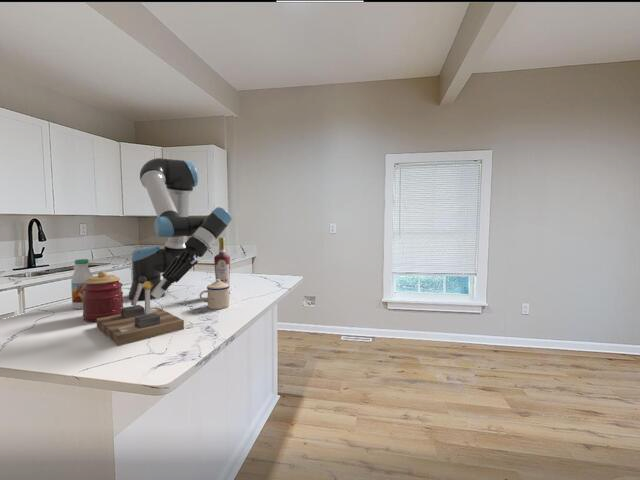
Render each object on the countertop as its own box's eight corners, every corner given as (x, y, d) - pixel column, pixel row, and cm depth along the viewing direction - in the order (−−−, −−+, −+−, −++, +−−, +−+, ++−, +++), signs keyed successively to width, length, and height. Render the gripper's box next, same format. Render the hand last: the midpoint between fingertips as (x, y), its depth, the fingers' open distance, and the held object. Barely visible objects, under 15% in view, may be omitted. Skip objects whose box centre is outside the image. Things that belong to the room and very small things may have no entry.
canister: (128, 310, 133) (126, 267, 132) (117, 321, 120) (114, 273, 119) (91, 312, 130) (89, 268, 129) (76, 323, 117) (73, 274, 116)
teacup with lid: (228, 302, 146) (227, 276, 145) (231, 308, 137) (230, 280, 137) (199, 305, 141) (198, 278, 140) (200, 311, 133) (199, 283, 132)
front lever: (141, 313, 108) (141, 281, 107) (150, 311, 110) (150, 280, 110) (144, 315, 106) (144, 282, 106) (153, 313, 108) (153, 281, 108)
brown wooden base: (96, 327, 114) (96, 311, 113) (157, 314, 128) (156, 300, 128) (117, 345, 98) (117, 326, 98) (183, 328, 113) (183, 312, 112)
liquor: (231, 293, 162) (230, 237, 160) (230, 297, 155) (229, 238, 153) (215, 294, 160) (214, 237, 158) (214, 298, 153) (213, 238, 151)
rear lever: (127, 303, 118) (138, 275, 120) (135, 305, 120) (146, 276, 122) (130, 305, 116) (141, 276, 118) (138, 306, 118) (149, 278, 120)
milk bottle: (68, 308, 136) (65, 260, 134) (87, 303, 143) (85, 257, 141) (80, 310, 133) (77, 261, 131) (99, 305, 140) (97, 258, 139)
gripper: (216, 250, 117) (171, 306, 106) (197, 248, 126) (154, 299, 115) (202, 236, 113) (153, 293, 102) (183, 235, 122) (137, 287, 111)
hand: (154, 296), depth 109 cm, fingers closed
